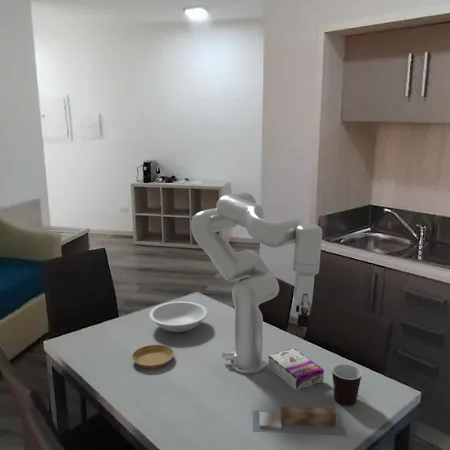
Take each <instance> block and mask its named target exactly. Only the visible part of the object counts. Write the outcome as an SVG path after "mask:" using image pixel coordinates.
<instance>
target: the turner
mask: <svg viewBox="0 0 450 450" xmlns="http://www.w3.org/2000/svg"><path fill="white" fill-rule="evenodd" d="M280 412H281V415H280ZM336 414H337V413H336V409H335V408H333V407H311V406H310V407H309V406H308V407H307V406H284V405H283V406H282V405H281V406H280V411H277V412H259V419H260V428H277V429H282V425H308V426H335V423H336Z"/></svg>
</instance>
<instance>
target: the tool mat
mask: <svg viewBox="0 0 450 450" xmlns="http://www.w3.org/2000/svg"><path fill="white" fill-rule="evenodd" d="M259 412H278V411H274V410H273V411H272V410H271V411H270V410H252V432H261V433H289V434H314V435H316V434H317V435H320V434H321V435H341V436H342V435H343V436H344V435H347V434H346V432H345V429H344V425H343V422H342V419H341V415H340V413H336V423H335V426H308V425H282V429H277V428H260V419H259ZM279 412H280V415H281V411H279Z"/></svg>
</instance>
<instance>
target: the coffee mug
mask: <svg viewBox="0 0 450 450" xmlns="http://www.w3.org/2000/svg"><path fill="white" fill-rule="evenodd" d="M331 373H332V385H333V386H332V387H333V399H334V401H335V402H336V403H337V404H338V405H340V406H343V407H353V406H354V405H355V404H356V403H357V399H358V394H359V390H360V384H361V381H362V380H361V379H362V375H363V373H362V370H361V369H360V368H358V367H357V366H355V365H352V364H348V363H339V364H336V365H334V366H333V367H332V369H331Z"/></svg>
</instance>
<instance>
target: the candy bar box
mask: <svg viewBox="0 0 450 450" xmlns="http://www.w3.org/2000/svg"><path fill="white" fill-rule="evenodd" d="M267 358H268V362H267V363H268V365H267V368H268V369H269V370H270V371H272V372H273V373H274V374H276V375H277V376H278V377H279V378H280V379H281V380H282V381H284V382H285V383H286V384H288V385H289V386H290V387H292V388H293V390H295V391H299V390H302V389H306V388H308V387H311V386H312V387H313V386H314V385H317V384H321V383H323V382H324V371H325V369H324V368H322V367H321V366H319V365H318V364H316V363H315V362H314V361H313V360H311V359H309V358H308V357H307V356H306V355H304V354H303V353H302V352H300V351H299V350H297V349H296V348H295V347H293V348H289V349H287V350H283V351H280V352H276V353H272V354H269V355H268V357H267Z"/></svg>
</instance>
